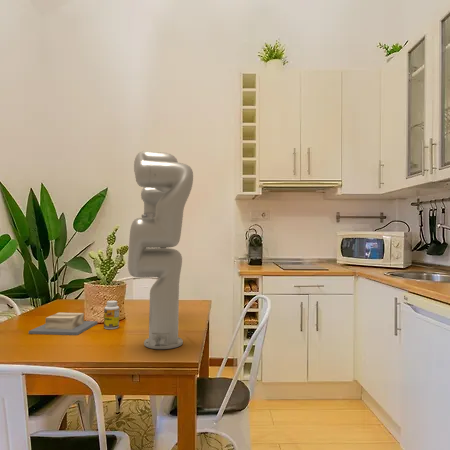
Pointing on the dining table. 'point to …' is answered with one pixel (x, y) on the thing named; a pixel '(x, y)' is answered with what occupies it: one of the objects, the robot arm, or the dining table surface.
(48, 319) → the riser block
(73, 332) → the grey flat square slab
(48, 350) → the dining table surface
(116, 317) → the supplement bottle
